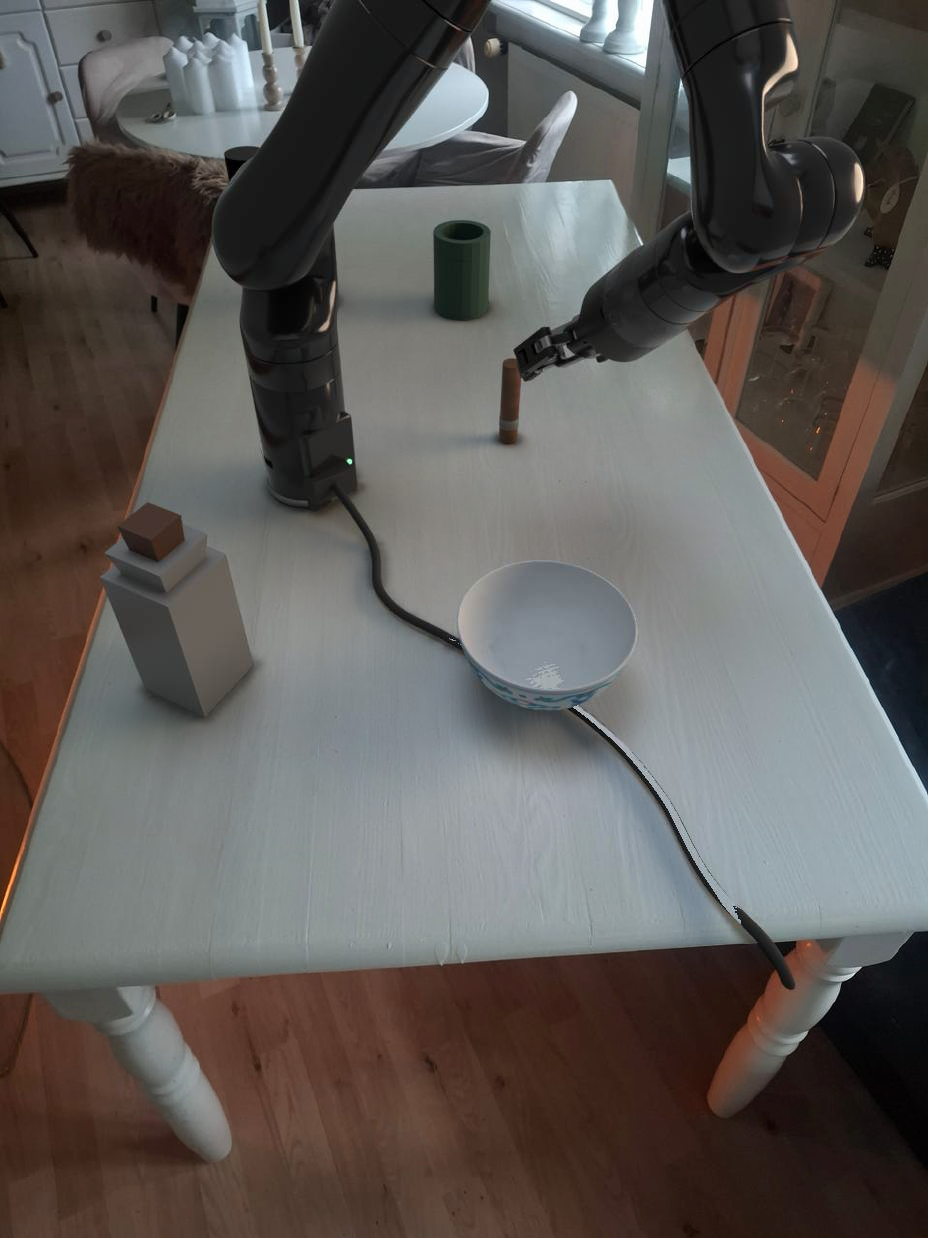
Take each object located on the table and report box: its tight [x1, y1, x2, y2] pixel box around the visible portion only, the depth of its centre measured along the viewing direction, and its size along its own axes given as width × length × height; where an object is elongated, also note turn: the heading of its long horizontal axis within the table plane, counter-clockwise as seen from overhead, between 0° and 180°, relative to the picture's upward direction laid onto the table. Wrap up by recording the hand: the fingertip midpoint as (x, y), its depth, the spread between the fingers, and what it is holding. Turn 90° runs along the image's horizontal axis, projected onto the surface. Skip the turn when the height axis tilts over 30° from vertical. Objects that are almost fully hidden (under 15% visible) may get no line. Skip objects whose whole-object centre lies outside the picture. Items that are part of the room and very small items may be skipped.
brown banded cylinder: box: [498, 357, 522, 445], centre depth 100 cm, size 2×2×10 cm
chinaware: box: [456, 559, 638, 712], centre depth 74 cm, size 15×15×8 cm
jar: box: [432, 219, 492, 321], centre depth 122 cm, size 8×8×11 cm
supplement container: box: [223, 145, 261, 183], centre depth 143 cm, size 7×7×10 cm
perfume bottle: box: [99, 501, 254, 718], centre depth 70 cm, size 7×7×18 cm
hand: (560, 361), depth 86 cm, fingers open, 8 cm apart
